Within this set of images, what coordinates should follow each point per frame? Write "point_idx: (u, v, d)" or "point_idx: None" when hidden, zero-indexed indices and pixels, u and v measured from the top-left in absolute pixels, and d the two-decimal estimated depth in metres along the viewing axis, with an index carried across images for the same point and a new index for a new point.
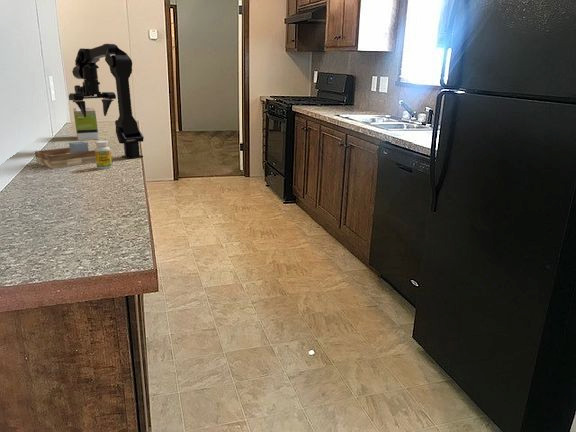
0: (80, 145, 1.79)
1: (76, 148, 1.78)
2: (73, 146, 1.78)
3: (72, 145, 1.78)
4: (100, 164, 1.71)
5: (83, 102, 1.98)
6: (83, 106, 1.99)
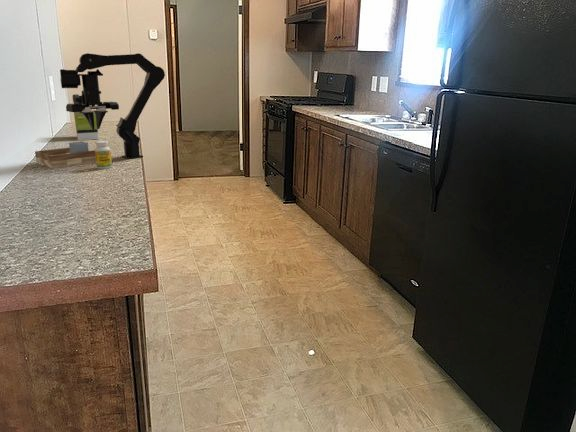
0: (80, 145, 1.79)
1: (76, 148, 1.78)
2: (73, 146, 1.78)
3: (72, 145, 1.78)
4: (100, 164, 1.71)
5: (91, 113, 1.79)
6: (91, 117, 1.80)
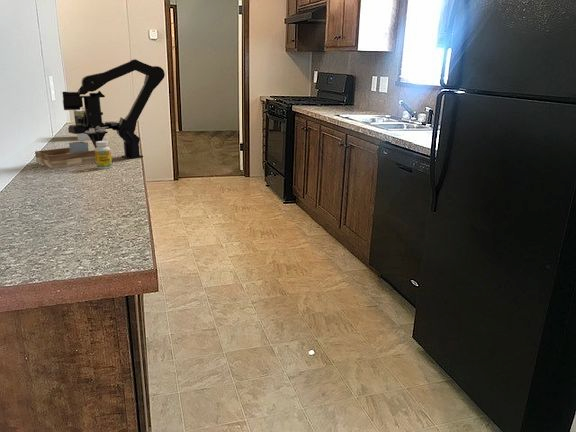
0: (80, 145, 1.79)
1: (76, 148, 1.78)
2: (73, 146, 1.78)
3: (72, 145, 1.78)
4: (100, 164, 1.71)
5: (95, 134, 1.82)
6: (95, 138, 1.83)
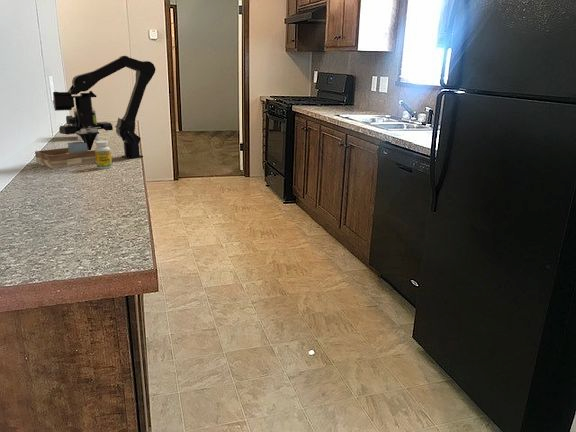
0: (79, 145, 1.78)
1: (75, 148, 1.78)
2: (72, 146, 1.78)
3: (71, 145, 1.78)
4: (100, 164, 1.71)
5: (87, 134, 1.79)
6: (87, 139, 1.80)
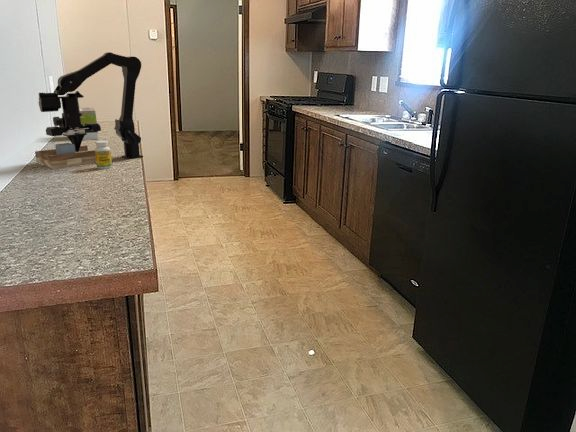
0: (66, 147, 1.75)
1: (63, 149, 1.74)
2: (59, 148, 1.75)
3: (58, 147, 1.75)
4: (100, 164, 1.71)
5: (75, 136, 1.76)
6: (75, 140, 1.77)
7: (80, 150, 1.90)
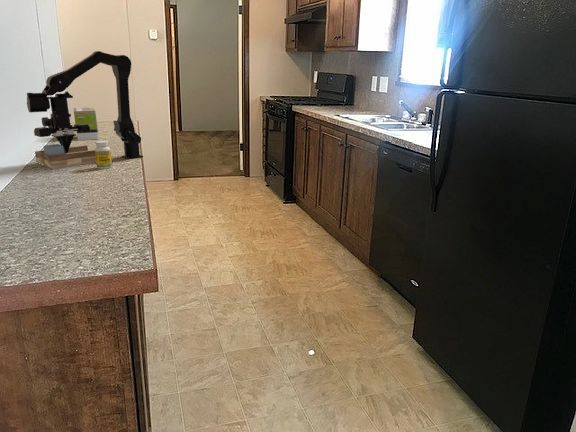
0: (55, 148, 1.72)
1: (51, 151, 1.71)
2: (47, 149, 1.72)
3: (47, 148, 1.72)
4: (100, 164, 1.71)
5: (63, 137, 1.73)
6: (63, 141, 1.74)
7: (80, 150, 1.90)
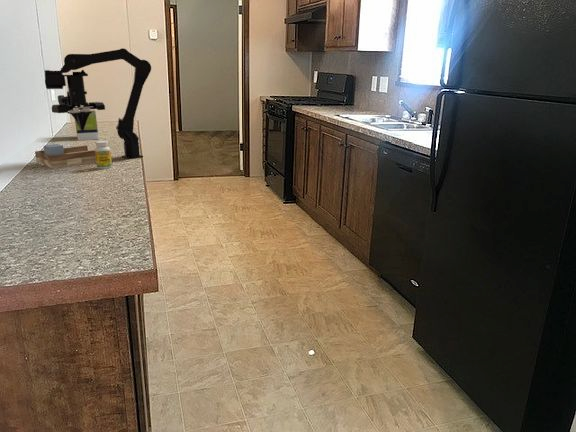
0: (55, 148, 1.72)
1: (51, 151, 1.71)
2: (47, 149, 1.72)
3: (47, 148, 1.72)
4: (100, 164, 1.71)
5: (80, 113, 1.79)
6: (80, 118, 1.80)
7: (80, 150, 1.90)
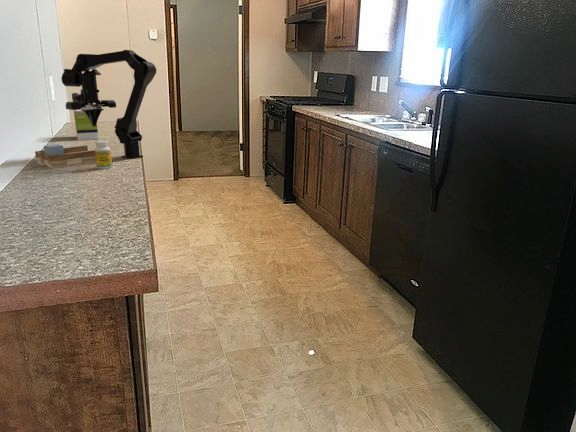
0: (55, 148, 1.72)
1: (51, 151, 1.71)
2: (47, 149, 1.72)
3: (47, 148, 1.72)
4: (100, 164, 1.71)
5: (92, 111, 1.88)
6: (92, 115, 1.89)
7: (80, 150, 1.90)
